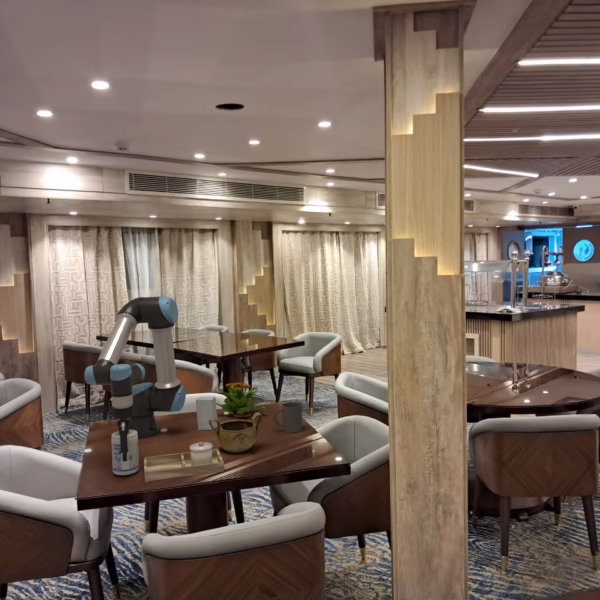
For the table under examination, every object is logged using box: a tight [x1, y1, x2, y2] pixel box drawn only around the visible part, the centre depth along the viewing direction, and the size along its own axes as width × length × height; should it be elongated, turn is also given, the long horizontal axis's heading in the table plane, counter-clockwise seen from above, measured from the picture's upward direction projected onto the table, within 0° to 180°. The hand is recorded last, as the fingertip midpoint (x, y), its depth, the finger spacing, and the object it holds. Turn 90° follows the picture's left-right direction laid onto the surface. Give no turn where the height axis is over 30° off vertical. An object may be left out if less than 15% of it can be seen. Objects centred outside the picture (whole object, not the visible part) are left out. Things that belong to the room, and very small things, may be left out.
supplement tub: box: [110, 430, 140, 476], centre depth 208 cm, size 10×10×15 cm
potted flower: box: [216, 381, 267, 419], centre depth 283 cm, size 25×24×18 cm
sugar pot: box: [189, 441, 213, 466], centre depth 211 cm, size 9×9×9 cm
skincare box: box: [195, 396, 218, 431], centre depth 263 cm, size 8×6×15 cm
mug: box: [272, 401, 303, 434], centre depth 255 cm, size 14×9×12 cm
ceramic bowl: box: [209, 411, 264, 454], centre depth 229 cm, size 22×17×15 cm
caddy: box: [143, 448, 225, 485], centre depth 209 cm, size 17×28×4 cm, turn 106°
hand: (125, 464), depth 208 cm, fingers closed on supplement tub, 9 cm apart
